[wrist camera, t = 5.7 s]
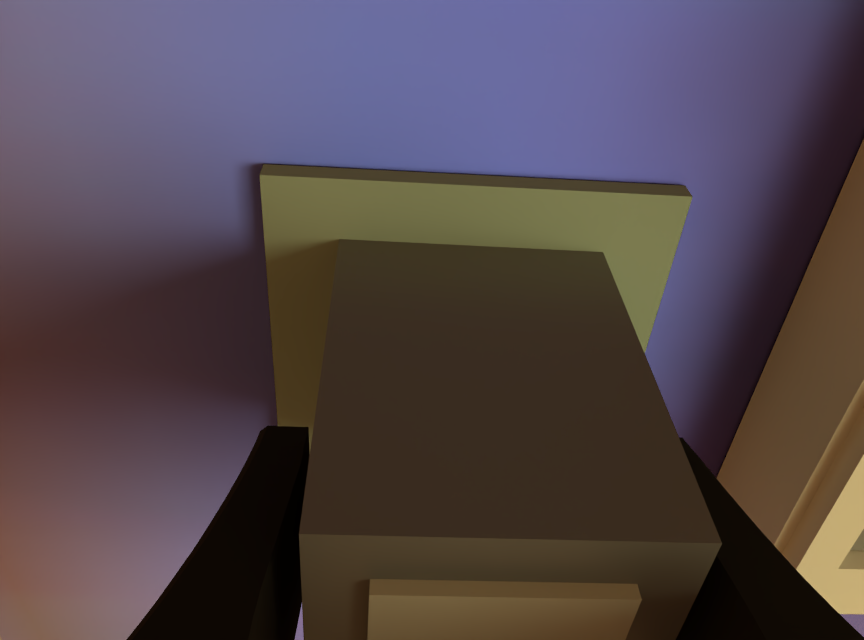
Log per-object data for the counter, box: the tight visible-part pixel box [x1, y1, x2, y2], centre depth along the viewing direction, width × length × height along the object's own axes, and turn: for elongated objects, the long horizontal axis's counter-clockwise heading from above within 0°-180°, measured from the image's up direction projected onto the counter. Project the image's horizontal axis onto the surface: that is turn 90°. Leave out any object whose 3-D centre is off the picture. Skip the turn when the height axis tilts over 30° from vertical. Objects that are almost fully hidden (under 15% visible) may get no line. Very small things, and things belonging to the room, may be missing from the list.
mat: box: [260, 164, 692, 452], centre depth 14 cm, size 7×7×1 cm
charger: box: [299, 239, 722, 640], centre depth 12 cm, size 4×4×6 cm
